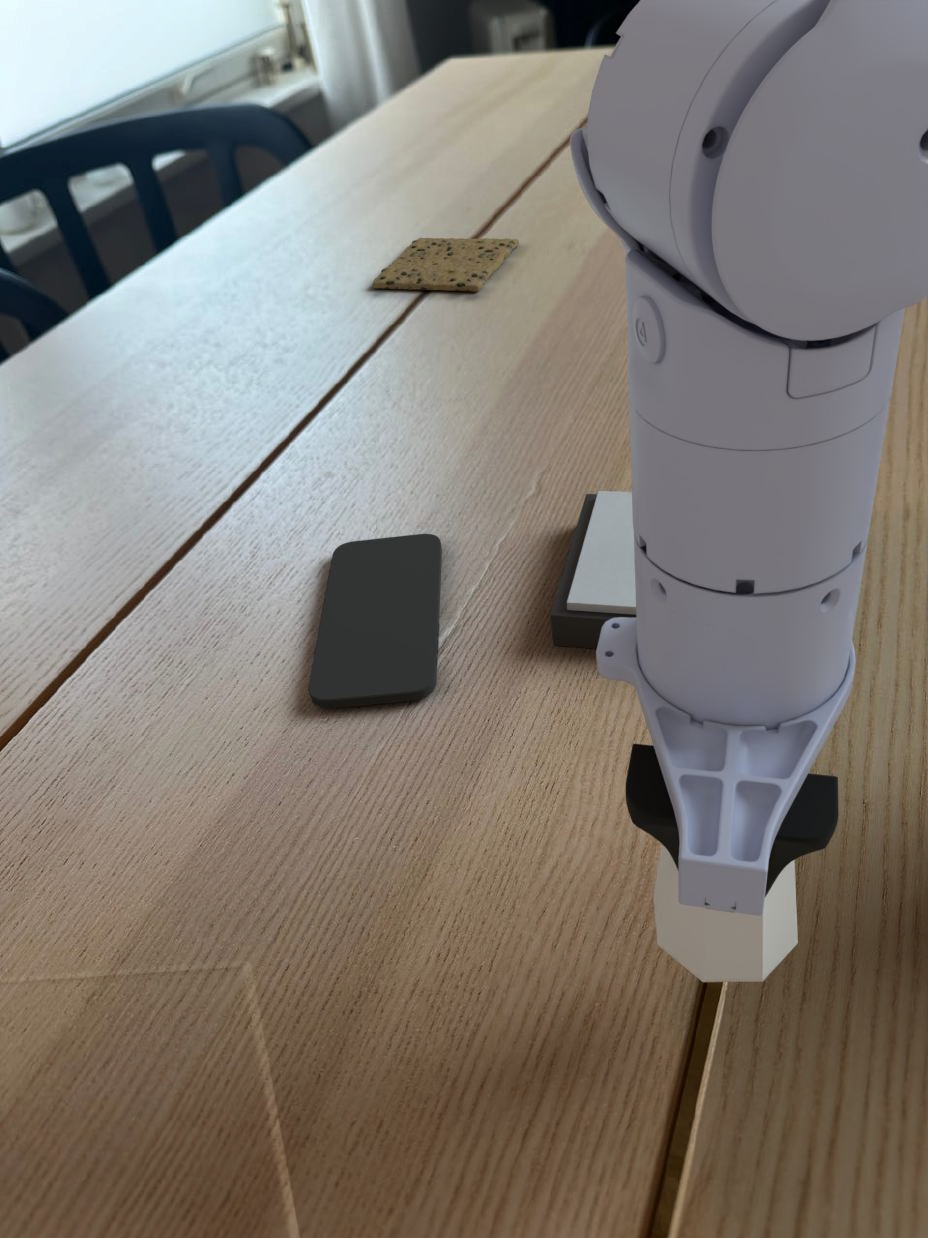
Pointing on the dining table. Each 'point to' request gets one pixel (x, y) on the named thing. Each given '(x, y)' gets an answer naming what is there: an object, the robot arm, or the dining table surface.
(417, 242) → the cookie
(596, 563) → the scale
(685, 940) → the pepper shaker
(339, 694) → the phone
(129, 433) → the dining table surface
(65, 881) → the dining table surface
